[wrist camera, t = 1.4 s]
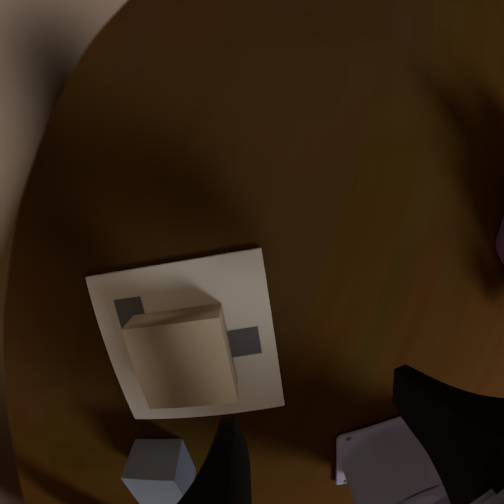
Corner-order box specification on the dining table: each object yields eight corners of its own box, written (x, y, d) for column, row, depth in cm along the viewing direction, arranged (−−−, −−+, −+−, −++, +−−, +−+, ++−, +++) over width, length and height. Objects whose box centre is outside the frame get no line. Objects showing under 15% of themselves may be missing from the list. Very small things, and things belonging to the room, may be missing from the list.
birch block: (221, 302, 19) (219, 317, 17) (237, 381, 20) (238, 401, 18) (133, 314, 19) (121, 329, 16) (157, 389, 20) (149, 409, 18)
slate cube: (182, 438, 22) (174, 480, 17) (195, 468, 22) (191, 509, 17) (135, 438, 21) (120, 477, 16) (151, 468, 22) (141, 506, 17)
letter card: (260, 247, 19) (261, 248, 19) (284, 402, 21) (284, 405, 21) (87, 276, 19) (84, 277, 18) (136, 416, 21) (134, 419, 20)
